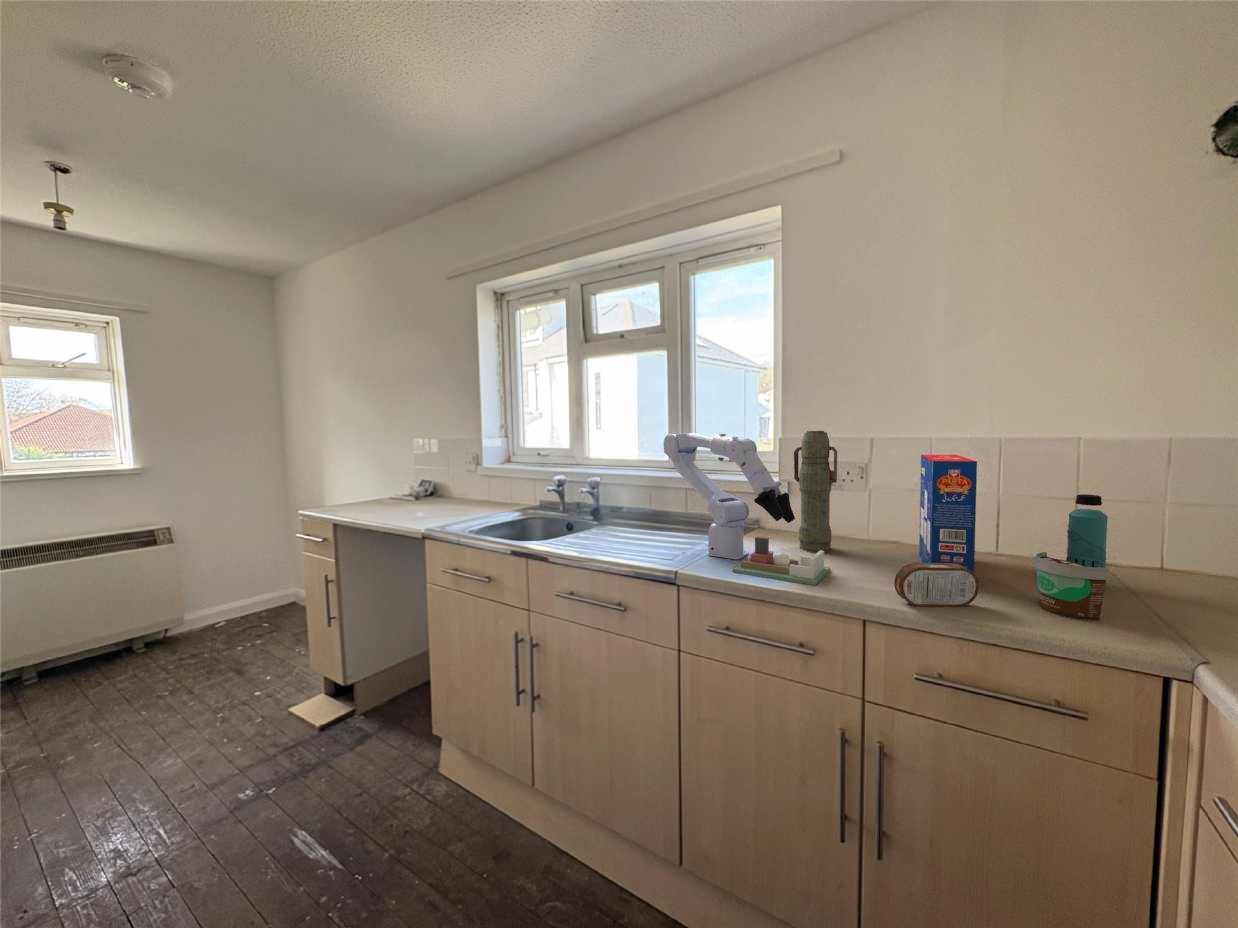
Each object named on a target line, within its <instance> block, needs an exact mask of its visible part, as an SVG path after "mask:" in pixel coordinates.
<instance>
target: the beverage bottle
mask: <svg viewBox="0 0 1238 928" xmlns="http://www.w3.org/2000/svg"><path fill="white" fill-rule="evenodd" d="M1075 498H1076V499H1075V504H1076V505H1081V506H1094V507H1095V506H1097V507H1099V506H1100V507H1101V506H1102V505H1103V502H1102V496H1101V495H1097V494H1085V493H1083V494H1082V493H1081V494H1077V495H1076V497H1075ZM1108 519H1109V516H1108V515H1107V514H1105V513H1104V512H1103V511H1102V510H1098V509H1093V508H1092V509H1091V508H1076V509H1075V508H1074V509H1073V510H1072V511H1070V512H1069V513H1068V524H1067V527H1068V529H1067V530H1066V531H1067V532H1066V533H1067V535H1066V538H1067V548H1066V550H1065V551H1066V557H1065V558H1066V559H1065V561H1072V562H1076V563H1079V564H1081V565H1083V566H1086V567H1096V568H1107V566H1106V565H1107V538H1108V537H1107V533H1108Z"/></svg>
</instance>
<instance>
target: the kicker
mask: <svg viewBox="0 0 1238 928" xmlns="http://www.w3.org/2000/svg"><path fill="white" fill-rule="evenodd" d="M769 543H770V542H769V537H765V536H756V537H754V552H751V553H750V555H749V556H750V557H749V559H750V561H751V562H758V563H764V564H773V557H774V551H770V549H769V545H770V544H769Z"/></svg>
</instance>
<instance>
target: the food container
mask: <svg viewBox="0 0 1238 928" xmlns="http://www.w3.org/2000/svg"><path fill="white" fill-rule="evenodd" d="M1031 565H1032V567H1033V568H1035V569H1036V579H1037V590H1038V591H1037V593H1038V605H1039V607H1040V609H1041V610H1043V611H1045V612H1047V613H1050V614H1052V615H1053V614H1054V615H1057V616H1060V617H1063V618H1064V617H1065V618H1067V619H1068V618H1070V619H1075V620H1081V621H1098V622H1099V621H1100V619H1101V614H1102V607H1103V601H1104V595H1105V590H1106V589H1105V588H1106V583H1107V581H1108V580H1109V581H1110V580H1111V576H1110V575H1111V574H1110V571H1109V569H1108V568H1109V567H1105V568H1096V567H1086V566H1083V565H1081V564H1079V563H1076V562H1072V561H1066V560H1062V559H1057V558H1054V557H1050V556H1048V551H1044V552H1043V551H1042V552H1038V553H1036V555H1035V556H1034V558H1033V560H1032V563H1031Z"/></svg>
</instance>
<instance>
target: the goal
mask: <svg viewBox="0 0 1238 928" xmlns="http://www.w3.org/2000/svg"><path fill="white" fill-rule="evenodd" d="M799 563H800V566H799V565H792V564H790V565H789V575H791V576H797V577H804V578H810V579H814V578H815V577H816V576H817V575H818V574H819V573H820V572H821V571H822V570H823V569H824V567H825V552H824V551H821V550H820V551H819V552H815V554H814V555H812V556H805V555H800V562H799Z"/></svg>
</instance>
